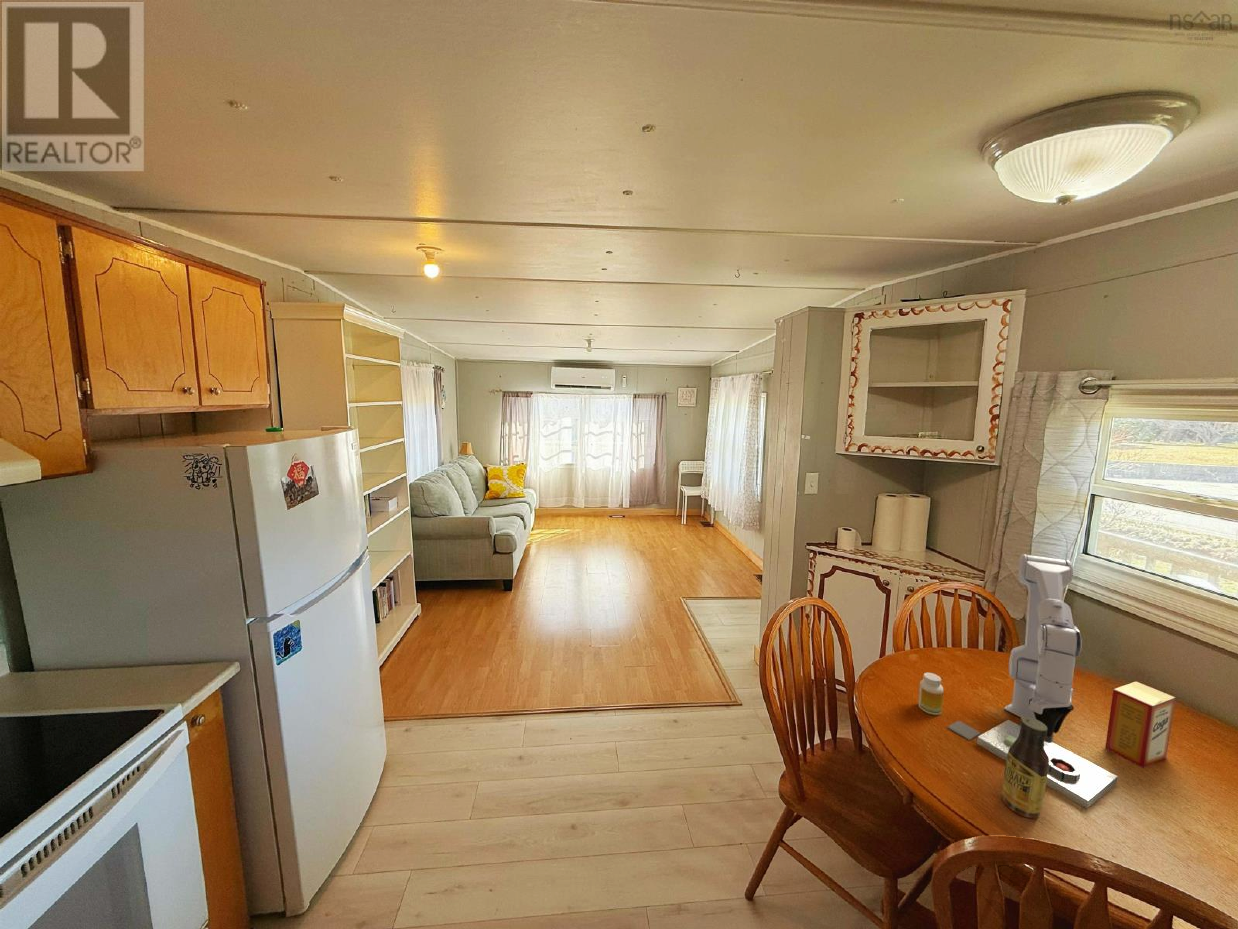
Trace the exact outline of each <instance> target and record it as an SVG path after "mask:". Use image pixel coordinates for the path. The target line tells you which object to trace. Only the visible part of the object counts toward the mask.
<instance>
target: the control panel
mask: <svg viewBox="0 0 1238 929" xmlns="http://www.w3.org/2000/svg"><path fill="white" fill-rule="evenodd" d="M1020 728H1021V726H1020V724H1018V723H1015V722H1014V721H1011V720H1010V719H1007V720H1005V721H1003V722H1002V723H1000V724H998V725H996V726H994V727H993V728H991V729H990V730H987V731H986V732H984V733H982V734H980V735H978V736H977V740H976V741H977V742H976V744H977V745H978V746H980V747H982V748H983V749H985V750H987V751H988V752H990V753H992V754H993V755H995V756H996V757H998V758H1001V759H1002V760H1003V761H1005V762H1006V761H1007V755H1008V750H1009V749H1010V748H1011V746H1009V745H1008V744H1006V743H1005V738H1006V737H1008V736H1010V735H1011V736H1013V737H1014V738H1016V739H1017V738H1018V737H1019V734H1020ZM1044 750H1045V752H1046V754H1047V756H1048V758H1049V766H1048V775H1047V781H1046V786H1048V787H1049V788H1051V789H1052V790H1054V791H1056V790H1057V791H1056V792H1058V793H1059V792H1060V793H1059V794H1061V795H1063V796H1065V797H1066V798H1068V799H1070V800H1072V802H1075V803H1076V804H1078V805H1080V806H1081V807H1083V808H1085V809H1089V808H1090V807H1091V806H1093V805H1094V804H1095V803H1096V802H1097V801H1099V800H1100V799H1101V798H1102V797H1103V796H1105V794H1107V793H1108V792H1109V791H1110V790H1112V789H1113V788H1114V787H1116V786H1117V782H1118V775H1116V774H1114V773H1112V772H1109V771H1108V770H1106V769H1105V768H1103V767H1100V766H1099V765H1096V764H1094V763H1093V762H1091V761H1089V760H1087V759H1085V758H1084V757H1083V758H1082V757H1081V756H1079V755H1077V754H1076V753H1073V752H1072V751H1070V750H1067V749H1065V748H1064V747H1061V746H1060V745H1058V744H1056V743H1054V742H1053V743H1048V742H1045V741H1044ZM1057 763H1060V764H1063V765H1065V766H1067V767H1068V769H1069V771H1068V772H1067V771H1063V770H1061V769H1059V768H1057V767H1056V764H1057Z"/></svg>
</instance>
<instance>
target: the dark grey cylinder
mask: <svg viewBox="0 0 1238 929" xmlns="http://www.w3.org/2000/svg"><path fill="white" fill-rule="evenodd" d="M1054 710H1055V708H1054ZM1044 741H1045V742H1048V743H1054V732H1053V734H1052V736H1051V737H1048V736H1045V740H1044Z"/></svg>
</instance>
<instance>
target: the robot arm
mask: <svg viewBox="0 0 1238 929" xmlns="http://www.w3.org/2000/svg"><path fill="white" fill-rule="evenodd" d="M1017 571H1018V573H1017V574H1018V575H1017V577H1018V578H1017V579H1018V581H1019V583H1021V584H1023V585H1026V588H1027V592H1028V595H1027V608H1026V623H1025V625H1026V626H1025V641H1024V644H1023V645H1019V646H1016V647H1014V648H1012V650H1010V657H1009V661H1008V673H1009V676H1010V677H1011V679H1013V680H1014V684H1013V693H1012V701H1011V703H1010V704H1008V705H1006V706H1004V710H1005V711H1007V712H1008V713H1009V712H1010V713H1011V714H1013V715H1015V716H1017V717H1019V718H1020V719H1021V718H1022V717H1031V718H1034V719H1037V720H1039V721H1040V722H1042V723H1044V724H1045V725H1046V726H1047V728H1048V730H1047V735H1046V736H1048V737H1051V736H1052V734H1053V735H1054V733H1055V734H1057V733H1059V731H1060V729H1061V727H1062V724H1063V723H1064V721H1065V719H1066V717H1067V716H1068V715H1069V714H1070V712H1072V711H1073V710H1074V709H1075V707H1074V705H1072V697H1074V688H1073V681H1074V672H1075V664H1076V658H1077V657H1080V654H1081V652H1082V648H1083V646H1082V645H1083V641H1082V635H1081V631H1080V629H1078V626H1076V625H1075V623H1074V620H1073V619H1074V618H1073V615H1072V609H1071V606H1070V605H1068V604H1067V603H1066V602H1064V599H1063V590H1065V589H1066V587H1067V586H1069V585H1070V583H1072V581H1073V577H1074V566H1073V563H1072V562H1071V561H1070V559H1060V558H1059V559H1058V558H1051V557H1046V556H1038V555H1037V556H1036V555H1031V554H1026V553H1022V554H1021V555H1020V556H1019V559H1018V570H1017ZM1054 708H1055V710H1054ZM1053 732H1054V733H1053Z"/></svg>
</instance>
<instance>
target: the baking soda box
mask: <svg viewBox="0 0 1238 929" xmlns="http://www.w3.org/2000/svg"><path fill="white" fill-rule="evenodd" d="M1176 698H1177V697H1176V696H1173V695H1171V694H1169V693H1165V692H1164V691H1161V690H1159V689H1156V688H1154V687H1151V686H1149V685H1146V684H1144V683H1142V682H1140V681H1133V682H1130V683H1128V684H1127V683H1126V684H1125V685H1121V686H1119V687H1117V688H1116V687H1115V688H1114V689H1113V690H1112V697H1111V706H1110V711H1109V720H1108V726H1107V734H1106V740H1105V749H1107V750H1108V751H1110V752H1111V753H1114V754H1116V755H1118V756H1119V757H1122V758H1123V759H1125V760H1126V761H1128V762H1130V763H1133V764H1134V765H1136V766H1138V767H1141V769H1144V768H1147V767H1149V766H1151V765H1153V764H1155V763H1158V762H1160V761H1162V760H1164V759H1167V756H1168V748H1169V742H1170V737H1171V729H1172V725H1173V724H1172V723H1173V717H1174V711H1175V705H1176Z"/></svg>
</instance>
